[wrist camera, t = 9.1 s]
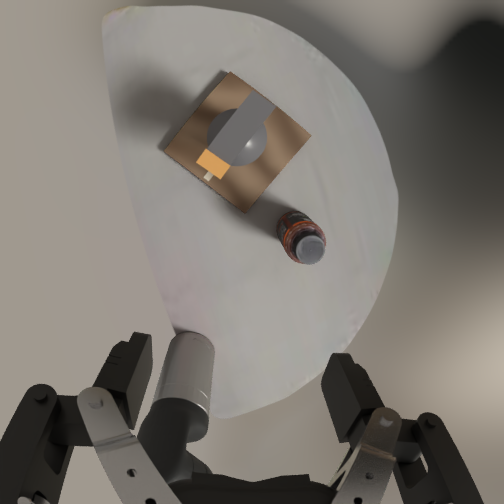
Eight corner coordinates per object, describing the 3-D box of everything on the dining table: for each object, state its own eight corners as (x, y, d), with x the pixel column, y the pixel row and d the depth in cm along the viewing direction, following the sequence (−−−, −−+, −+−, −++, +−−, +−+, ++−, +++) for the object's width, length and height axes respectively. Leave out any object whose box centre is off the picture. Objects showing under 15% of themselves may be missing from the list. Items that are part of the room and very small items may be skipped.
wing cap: (236, 94, 32) (235, 76, 23) (281, 126, 33) (294, 118, 25) (192, 151, 34) (178, 150, 26) (238, 183, 35) (237, 191, 27)
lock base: (244, 211, 46) (246, 225, 37) (166, 151, 42) (149, 151, 34) (309, 136, 42) (325, 132, 34) (230, 74, 38) (228, 56, 30)
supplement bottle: (282, 250, 48) (294, 277, 38) (271, 216, 46) (281, 236, 36) (315, 238, 48) (336, 263, 37) (306, 205, 46) (326, 222, 35)
